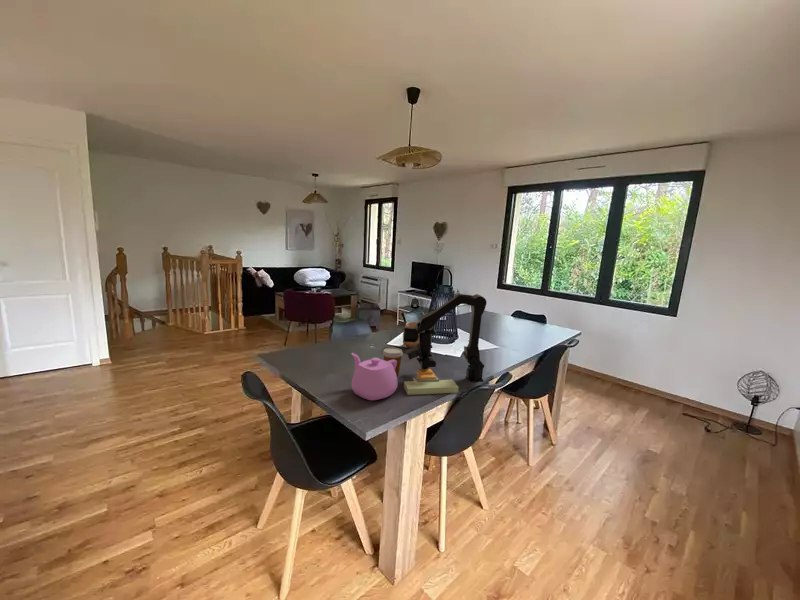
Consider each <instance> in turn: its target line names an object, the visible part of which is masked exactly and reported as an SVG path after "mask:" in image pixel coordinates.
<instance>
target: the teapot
mask: <svg viewBox="0 0 800 600" xmlns="http://www.w3.org/2000/svg"><path fill="white" fill-rule="evenodd" d="M351 356H352V357H353V359H354V373H353V376H352V380H351V389H352V392H353V393H354V394H355V395H357V396H358V397H360V398H362V399H364V400H365V399H366V400H368V401H377V400H378V401H379V400H381V399H385V398H388V397H390V396H392V395H393V394H394V393H395V392H396V390H397V388H398V376H396V372H395V368H396V365H397V361H396V360H394V359H393V360H389V361H385V360H384V359H380V358H379V357H372V358H370V359H366V360H364V361H362V362H361V359H360V357H359V356H358V354H357V353H355V352H351Z"/></svg>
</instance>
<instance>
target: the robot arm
mask: <svg viewBox="0 0 800 600" xmlns="http://www.w3.org/2000/svg"><path fill="white" fill-rule="evenodd" d="M461 304H462V305H468V306H470V310H471V311H470V312H471V320H470V330H469V337H468V339H469V340H468V344H467V345H466V346H465V345H464V346H463V353H462V354H463V357H464V358H465V361H467V363H468V365H467V368H466V373H465V377H466V378H467V379H468V380H469V381H470V382H484V379H483V372H484V368H485V364H484V363H483V362H482V360H481V356H480V354H481V353H480V349H479V341H480V331H481V324H482V317H483V314H484V312H485V310H486V308H487V307H486V306H487V299H486V298H485V297H484V296H482V295H481V294H478V293H477V294H473V295H472V294H463V293H456V295H455V296H454V297H451V299H449V300H447V302H444V303H443V304H442V305H441V306H439V307H437V308H435V309H434V310H432V311H428V312H427V313H425V314H422V315H421V316H420V318H419V321H418V322H419V323H418V324H417V325H416V326H415V328H408V327H405V326H404V327H403V332H402V343H403V342H416V341H417V340H418V334H419V343H418V344H417V347H413V348H408V349H406V350H405V352H406V355H407V358H408V360H413V359H415V358H416V360H417V362H418V363H419V364H420V369H430V368H436V366H437V362H436V360H435V359H434V358H433V354H432V349H433V345H432V340H433V338H432V337H433V335H437V331H436V330H435V329H434V326H435V325H436V324H437V323H438V322H439V321H440V319H441V318H443V317H444V316H446V315H447V314H448V313H450V312H451V311H453V310H454V309H456V308H457V307H458V306H461Z"/></svg>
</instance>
